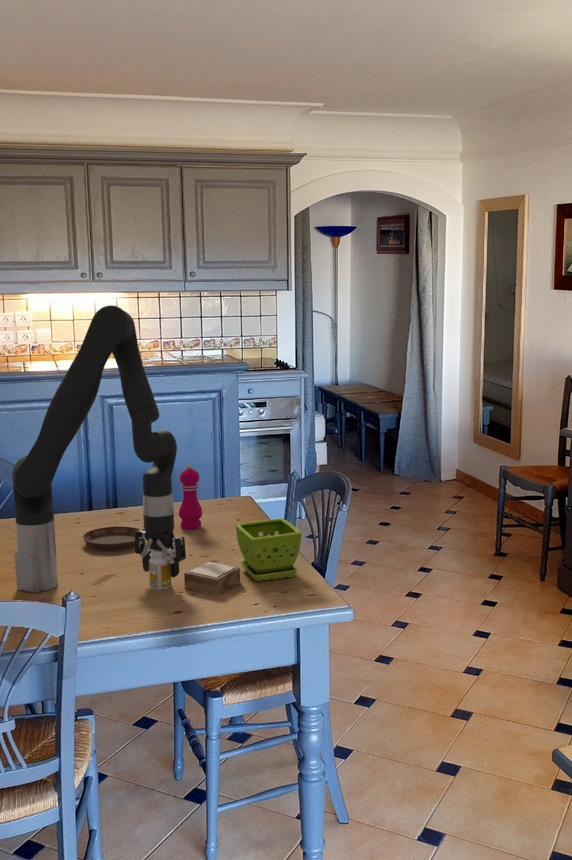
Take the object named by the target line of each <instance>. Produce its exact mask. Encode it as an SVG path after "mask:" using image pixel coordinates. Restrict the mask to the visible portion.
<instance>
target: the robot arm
mask: <svg viewBox="0 0 572 860" xmlns="http://www.w3.org/2000/svg"><path fill="white" fill-rule="evenodd" d="M111 355H112V356H113V357H114V360H115V363H116V366H117V368H118V373H119V377H120V378H119V380H120V385H121V391H122V395H123V396H122V397H123V399H124V402H125V405H126V409H127V411H128V413H129V417H130V419H131V420H130V421H131V430H132V433H131V434H132V445H133V449H134V450H133V451H134V453H135V455H136V456H137V458H138V459H139V460H140V461H141V462H143V463H147V464H149V463H152V466H151V467H150V468H149V469H147V470H146V471H145V472H144V473H143V475H142V491H143V495H142V496H143V500H142V514H143V516H142V517H143V518H142V519H143V528H141V529H140V530H139V531H136V532H135V546H134V552H135V554H136V555H140V557H141V558H142V561H141V562H142V568H143V571H144V572H149V560H150V558H151V557H152V554H151V550H152V549H153V550H158V551H163V552H164V554H165V556H167V557H168V558H169V560H170V562H171V563H170V574H171V578H176V577H177V576H178V575H179V573H180V562H182V561H184V560H186V558H187V554H186V553H187V552H186V540H185V537H184V535H183V536H182V535H181V536H175V535H174V529H175V513H174V512H175V511H174V509H175V507H174V505H175V504H174V498H173V490H172V489H173V487H172V486H173V485H172V484H173V483H172V481H173V480H172V476H173V472H174V468H175V463H176V462H175V461H176V457H177V452H178V451H177V450H178V449H177V448H178V447H177V446H178V445H177V441H176V440H177V439H176V437H175V436H174V435H173V434H172V432H170V430H164V429H162V430H157V431H152V430H153V429H152V424H153V423H155V422H156V421H158V419H159V418H160V412H159V408H158V404H157V401H156V399H155V397H154V393H153V390H152V388H151V385H150V383H149V379H148V376H147V374H146V371H145V368H144V365H143V362H142V357H141V352H140V349H139V343H138V336H137V330H136V325H135V320H134V318H132V316H131V315H130V314H129V313H128V312H127V311H125V310H124V309H122V308H121V307H119V306H117V305H112V304H109V305H105V306H102V307H101V308H99V309H98V310H97V311H96V312H95V314H94V315H93V317H92V319H91V321H90V323H89V326H88V329H87V331H86V334H85V336H84V339H83V341H82V343H81V346H80V347H79V350H78V352H77V354H76V356H75V358H74V359H73V360H72V363H71V364H70V366H69V367H68V370H67V371H66V373H65V374H64V377H63V379H62V381H61V382H60V383H59V385H58V387H57V389H56V391H55V392H54V395H53V397H52V399H51V401H50V403H49V405H48V407H47V410H46V413H45V416H44V418H43V420H42V424H41V427H40V431H39V434H38V435H37V438H36V440H35V442H34V444H33V445H32V447H31V449H30V450H29V452H28V453H27V455H25V456H23V457H21V458H20V459H18V461H16V463H15V464H14V466H13V468H12V477H11V478H12V491H13V503H14V504H13V505H14V516H15V517H14V518H15V531H16V532H15V533H16V545H17V551H16V552H15V553H14V565H15V578H16V579H15V580H16V590H18V589H19V590H20V591H22V590H24V591H23V592H26V591H28V592H27V593H30V592H33V593H32V594H36V593H35V592H37V593H40V591H41V592H45V591H46V592H47V591H50V590H52V588H53V589H55V588H56V587H58V585H59V582H58V581H59V580H58V565H57V563H58V562H57V546H56V545H57V544H56V529H55V515H54V514H55V511H54V503H53V502H54V501H53V489H52V488H53V487H52V486H53V485H52V483H53V480H54V478H55V475H56V473H57V470H58V468H59V466H60V463H61V460H62V458H63V456H64V454H65V452H66V451H67V449H68V447H69V445H70V444H71V443H72V441H73V439H74V438H75V437H76V435H77V433H78V431H79V430H80V428H81V427H82V424H83V423H84V421H85V419H86V418H87V417H88V415H89V413H90V410H92V409H91V408H92V406H93V404H94V403H95V400H96V398H97V396H98V393H99V389H100V385H101V381H102V376H103V372H104V369H105V366H106V364H107V362H108V360H109V358H110V357H111Z"/></svg>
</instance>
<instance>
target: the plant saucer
mask: <svg viewBox="0 0 572 860" xmlns="http://www.w3.org/2000/svg"><path fill="white" fill-rule="evenodd" d="M139 530H141V529H140V528H137V527H132V526H122V525H121V526H120V525H119V526H115V525H114V526H106V527H99V528H96V529H92V530H88V531H87V532H85V533H84V534H83V535H82V539H83V541H84V542H85V544H87V546H88V547H90V548H91V549H94V550H96V551H105V552H114V551H115V552H116V551H124V550H127V549H130V548H135V532H136V531H139Z"/></svg>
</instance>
